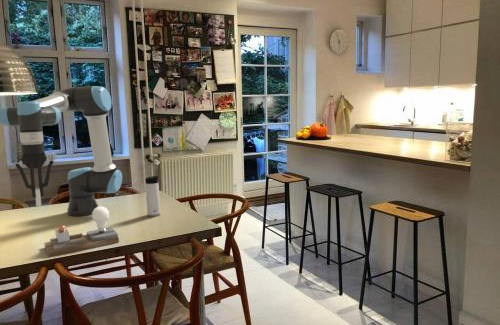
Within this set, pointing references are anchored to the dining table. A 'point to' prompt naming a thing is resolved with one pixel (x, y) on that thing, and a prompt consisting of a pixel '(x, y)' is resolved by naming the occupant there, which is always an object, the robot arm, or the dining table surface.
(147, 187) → the travel mug
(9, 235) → the dining table surface
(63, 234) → the ram slider
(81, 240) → the press base
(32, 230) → the dining table surface
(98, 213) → the light bulb
